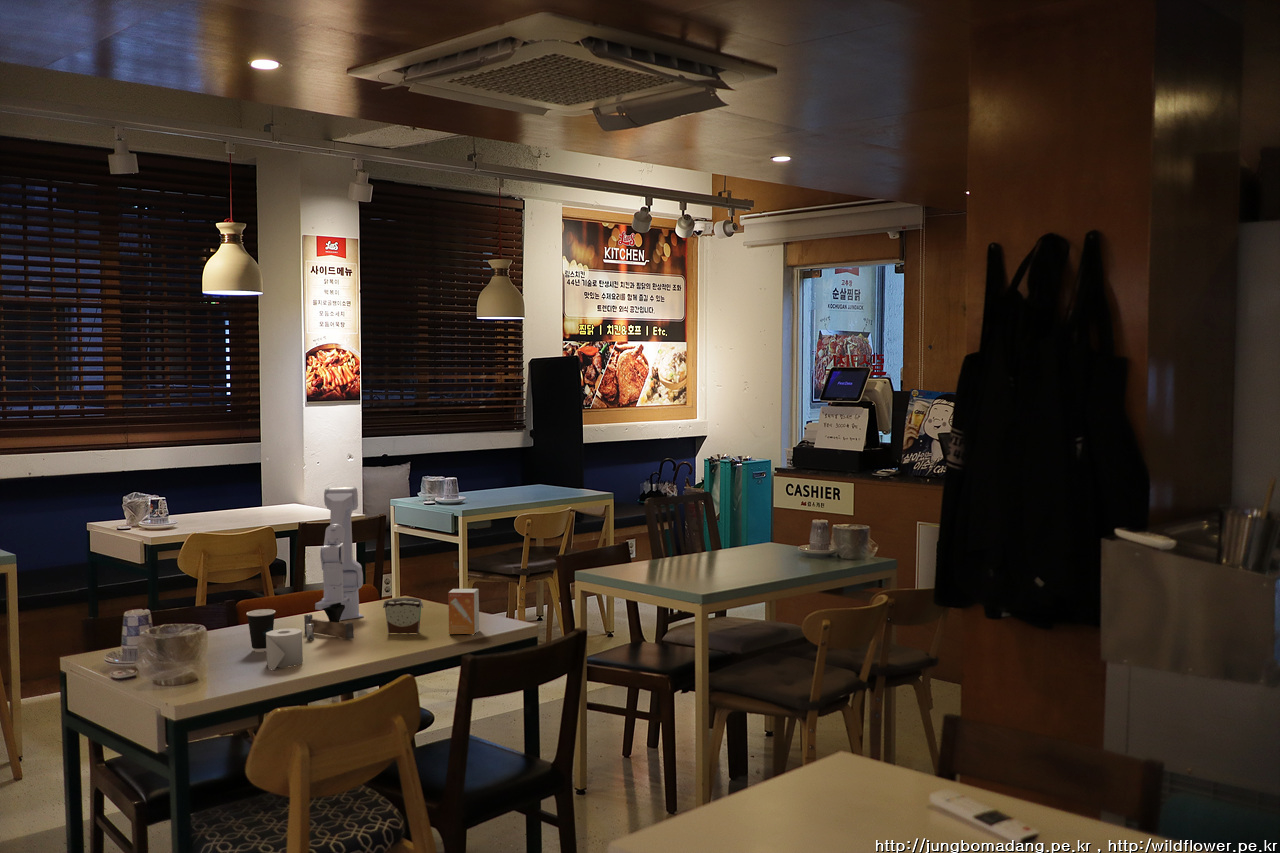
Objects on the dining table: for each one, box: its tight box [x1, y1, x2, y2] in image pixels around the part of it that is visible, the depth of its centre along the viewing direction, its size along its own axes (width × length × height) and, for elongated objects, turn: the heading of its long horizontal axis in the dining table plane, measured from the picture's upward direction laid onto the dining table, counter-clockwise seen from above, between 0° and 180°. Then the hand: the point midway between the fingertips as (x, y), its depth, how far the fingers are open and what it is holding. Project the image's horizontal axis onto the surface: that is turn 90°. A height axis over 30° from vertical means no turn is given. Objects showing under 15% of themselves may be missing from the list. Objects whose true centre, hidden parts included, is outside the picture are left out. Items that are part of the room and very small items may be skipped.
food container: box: [382, 597, 424, 634], centre depth 332 cm, size 12×6×10 cm, turn 84°
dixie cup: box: [246, 608, 277, 653], centre depth 312 cm, size 8×8×11 cm
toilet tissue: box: [266, 627, 304, 671], centre depth 294 cm, size 9×13×9 cm
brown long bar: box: [310, 618, 355, 640], centre depth 327 cm, size 18×2×4 cm, turn 56°
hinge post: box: [303, 613, 314, 635], centre depth 333 cm, size 2×2×6 cm
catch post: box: [306, 624, 315, 641], centre depth 324 cm, size 2×2×4 cm
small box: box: [447, 588, 480, 635], centre depth 329 cm, size 8×6×13 cm
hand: (334, 629), depth 329 cm, fingers closed
